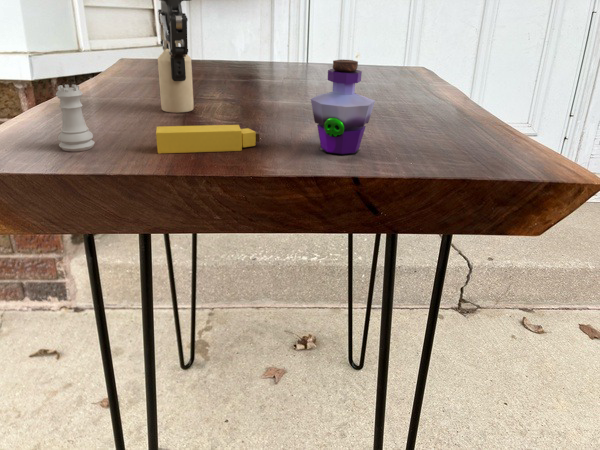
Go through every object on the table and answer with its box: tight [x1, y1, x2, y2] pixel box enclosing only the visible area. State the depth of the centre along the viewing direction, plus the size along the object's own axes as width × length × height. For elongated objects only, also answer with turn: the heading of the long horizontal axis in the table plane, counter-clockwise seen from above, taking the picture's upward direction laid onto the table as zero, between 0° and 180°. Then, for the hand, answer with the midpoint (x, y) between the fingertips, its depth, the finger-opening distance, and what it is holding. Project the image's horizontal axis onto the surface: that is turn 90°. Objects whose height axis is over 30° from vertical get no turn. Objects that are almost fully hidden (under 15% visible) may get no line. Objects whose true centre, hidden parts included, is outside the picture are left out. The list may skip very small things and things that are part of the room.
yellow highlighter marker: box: [155, 124, 260, 155], centre depth 71 cm, size 14×4×3 cm, turn 102°
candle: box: [157, 49, 195, 113], centre depth 90 cm, size 6×6×10 cm
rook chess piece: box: [55, 84, 96, 153], centre depth 68 cm, size 4×4×8 cm
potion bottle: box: [310, 59, 376, 157], centre depth 71 cm, size 9×9×12 cm
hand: (175, 77), depth 90 cm, fingers closed on candle, 5 cm apart
